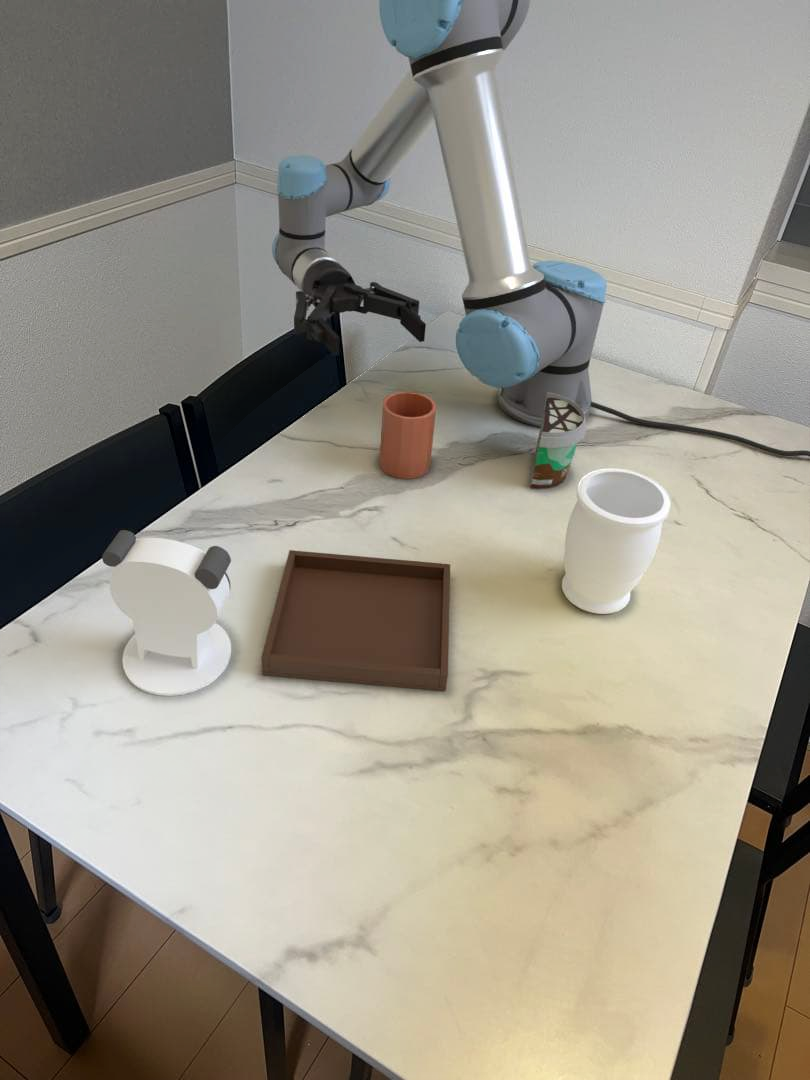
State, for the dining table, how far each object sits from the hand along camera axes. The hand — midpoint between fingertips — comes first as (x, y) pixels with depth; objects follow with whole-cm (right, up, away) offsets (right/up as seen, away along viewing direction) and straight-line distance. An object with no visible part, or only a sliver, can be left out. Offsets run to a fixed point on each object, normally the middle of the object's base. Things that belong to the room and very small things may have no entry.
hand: (380, 339), depth 114 cm
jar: (+27, -35, -15) cm, 47 cm away
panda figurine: (-21, -41, -27) cm, 54 cm away
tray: (-1, -38, -22) cm, 44 cm away
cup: (+3, -17, +3) cm, 18 cm away
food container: (+25, -19, +4) cm, 32 cm away
